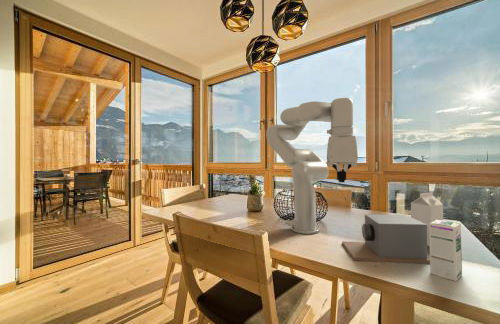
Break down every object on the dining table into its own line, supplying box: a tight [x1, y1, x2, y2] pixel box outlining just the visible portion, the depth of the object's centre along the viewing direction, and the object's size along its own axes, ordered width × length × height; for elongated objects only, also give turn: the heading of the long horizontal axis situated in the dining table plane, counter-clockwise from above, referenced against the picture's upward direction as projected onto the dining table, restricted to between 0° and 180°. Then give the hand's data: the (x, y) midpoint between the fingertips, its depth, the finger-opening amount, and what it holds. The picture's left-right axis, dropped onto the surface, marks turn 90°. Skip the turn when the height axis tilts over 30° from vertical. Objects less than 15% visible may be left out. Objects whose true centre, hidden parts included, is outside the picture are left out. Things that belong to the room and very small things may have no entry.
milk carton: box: [410, 192, 444, 247], centre depth 85 cm, size 7×7×19 cm
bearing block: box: [341, 213, 430, 265], centre depth 77 cm, size 23×14×12 cm, turn 82°
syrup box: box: [428, 219, 463, 282], centre depth 62 cm, size 6×6×14 cm
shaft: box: [361, 223, 374, 242], centre depth 76 cm, size 18×6×6 cm, turn 82°
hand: (341, 181), depth 83 cm, fingers closed
